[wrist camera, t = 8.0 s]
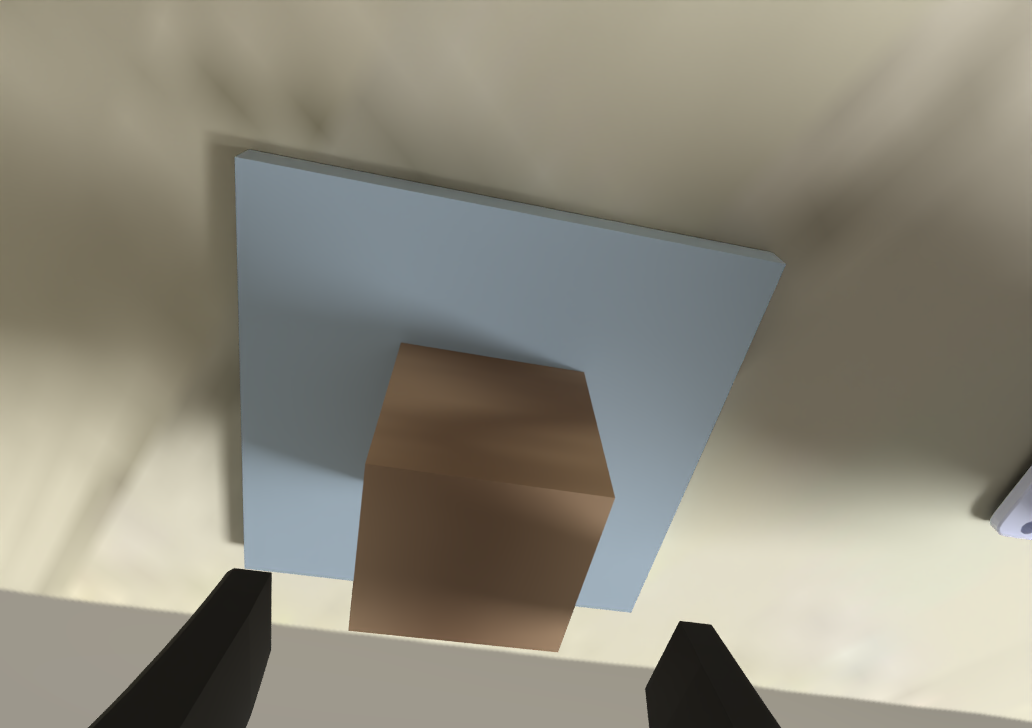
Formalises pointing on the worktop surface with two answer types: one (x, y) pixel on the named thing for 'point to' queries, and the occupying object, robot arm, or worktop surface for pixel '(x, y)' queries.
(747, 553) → the worktop surface
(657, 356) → the slate board
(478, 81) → the worktop surface
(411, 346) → the walnut cube
